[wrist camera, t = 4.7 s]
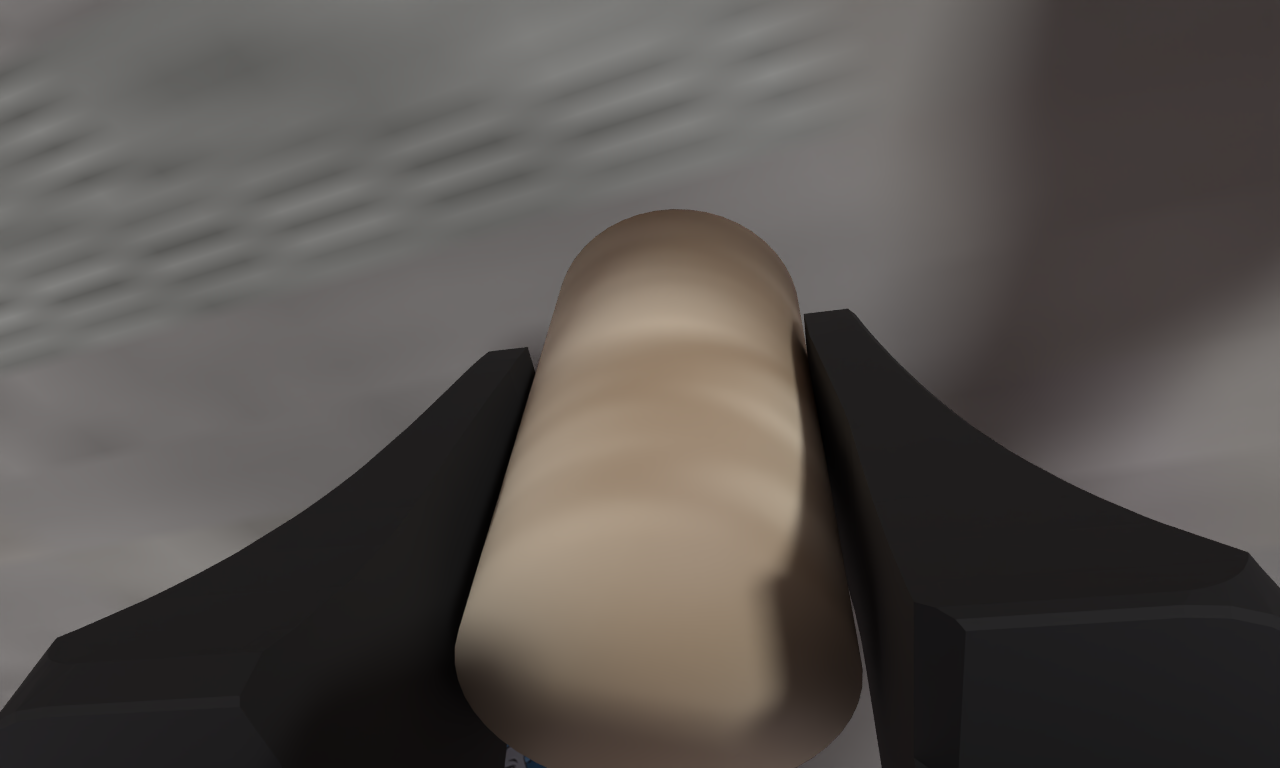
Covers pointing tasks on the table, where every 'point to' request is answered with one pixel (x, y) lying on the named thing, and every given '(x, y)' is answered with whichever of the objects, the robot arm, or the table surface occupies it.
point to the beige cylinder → (666, 521)
